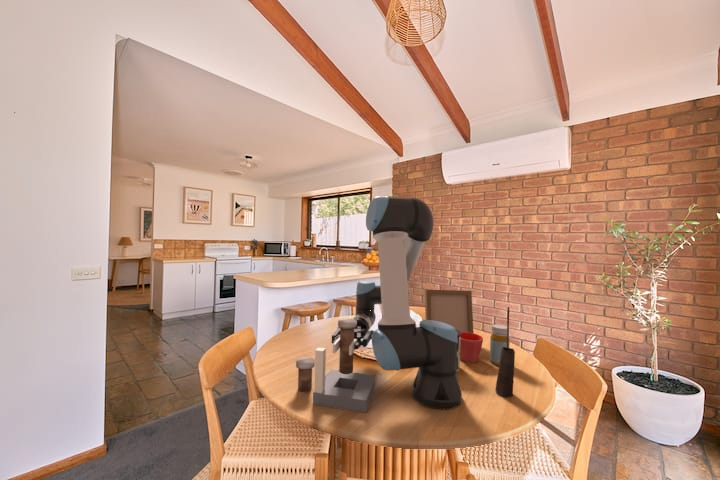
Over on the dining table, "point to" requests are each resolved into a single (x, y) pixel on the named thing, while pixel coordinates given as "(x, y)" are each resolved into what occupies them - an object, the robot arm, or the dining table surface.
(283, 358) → the dining table surface
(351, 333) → the long pin
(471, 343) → the flower pot
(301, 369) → the short pin
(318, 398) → the hole block
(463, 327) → the photo frame
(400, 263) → the robot arm
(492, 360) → the bottle
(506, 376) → the walkie talkie
